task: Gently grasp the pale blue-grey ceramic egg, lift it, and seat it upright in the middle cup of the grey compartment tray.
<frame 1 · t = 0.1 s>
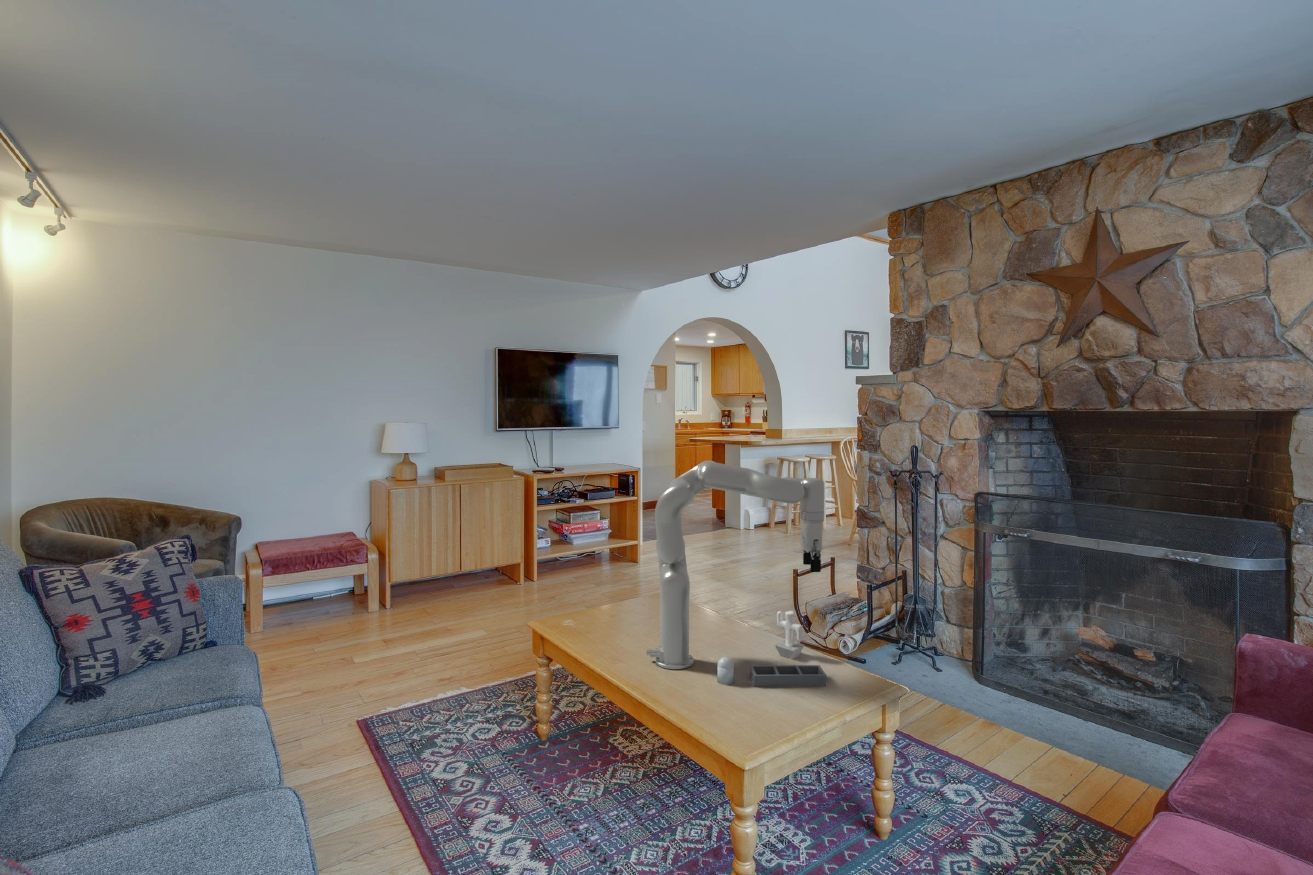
hand: (811, 568, 211), 31 cm above the table, tool pointing down, fingers open, 9 cm apart
grey compartment tray: (787, 680, 197), on the table
figurine: (789, 656, 218), on the table
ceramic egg: (725, 681, 197), on the table
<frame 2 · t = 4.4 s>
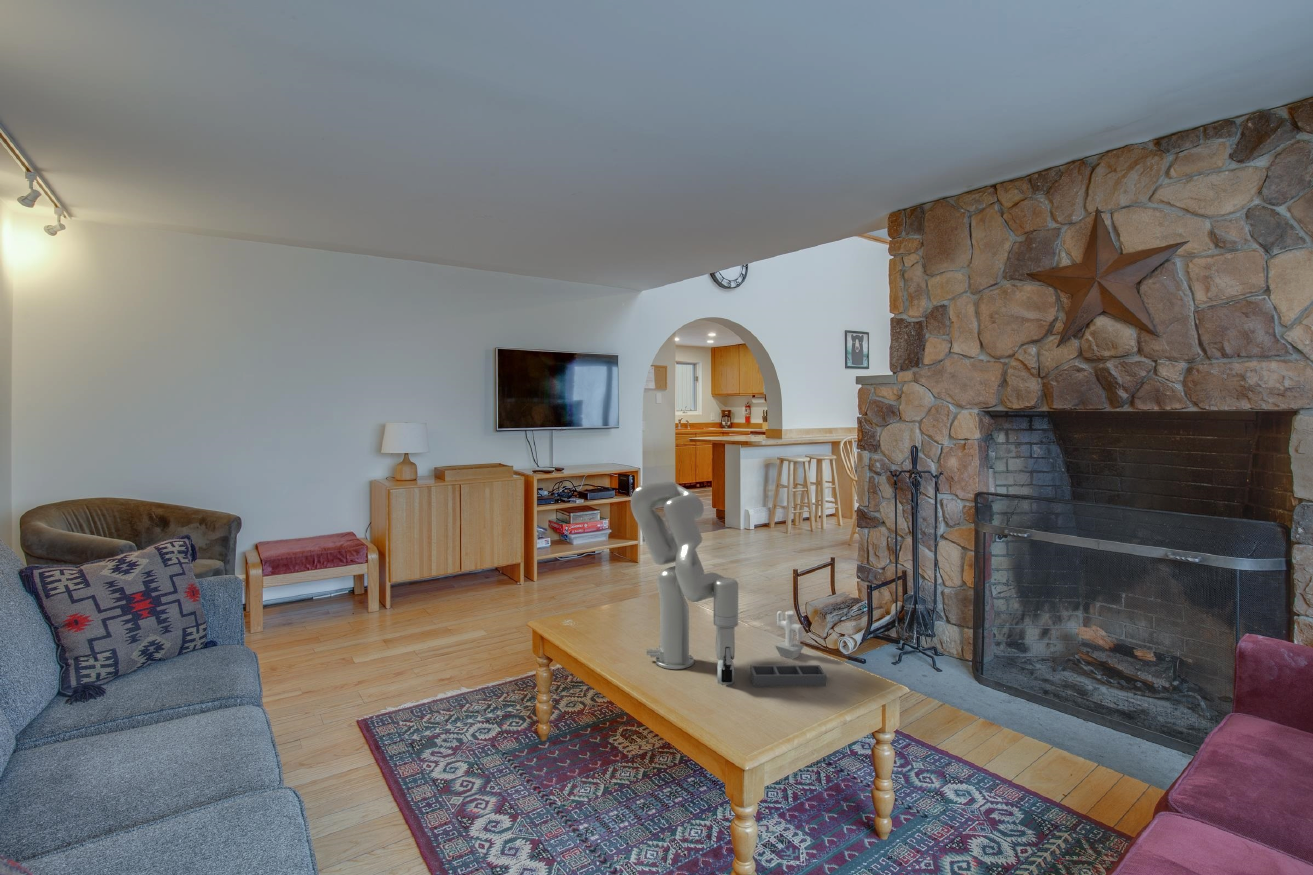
hand: (725, 677, 197), 1 cm above the table, tool pointing down, fingers closed on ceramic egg, 5 cm apart
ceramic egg: (725, 681, 197), on the table, touching gripper
everything else where it was.
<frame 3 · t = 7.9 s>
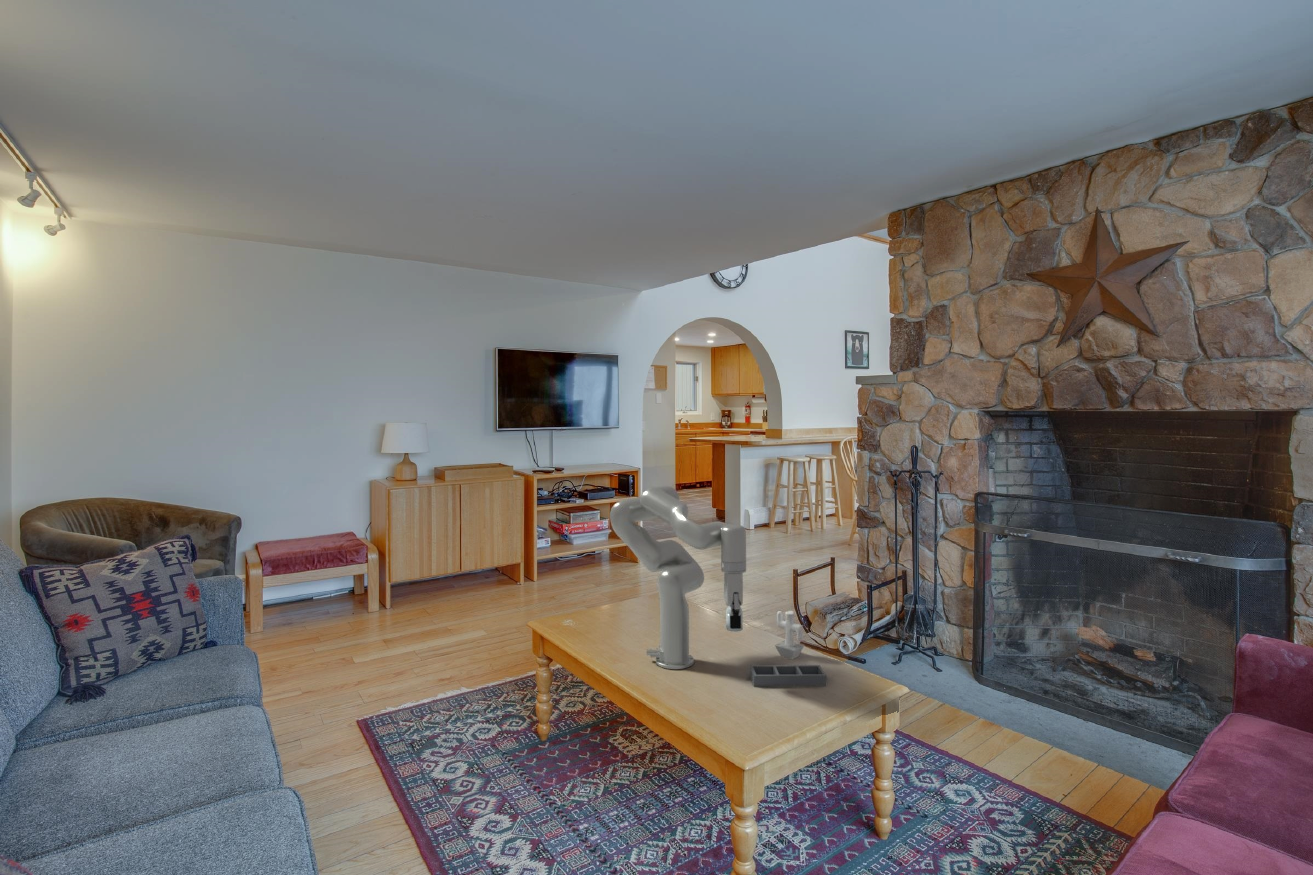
hand: (734, 624, 196), 18 cm above the table, tool pointing down, fingers closed on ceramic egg, 5 cm apart
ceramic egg: (734, 628, 196), point 16 cm above the table, touching gripper
everything else where it was.
when the fingers open (4 cm above the table, at t = 11.9 s): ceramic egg drops 2 cm, resting on grey compartment tray.
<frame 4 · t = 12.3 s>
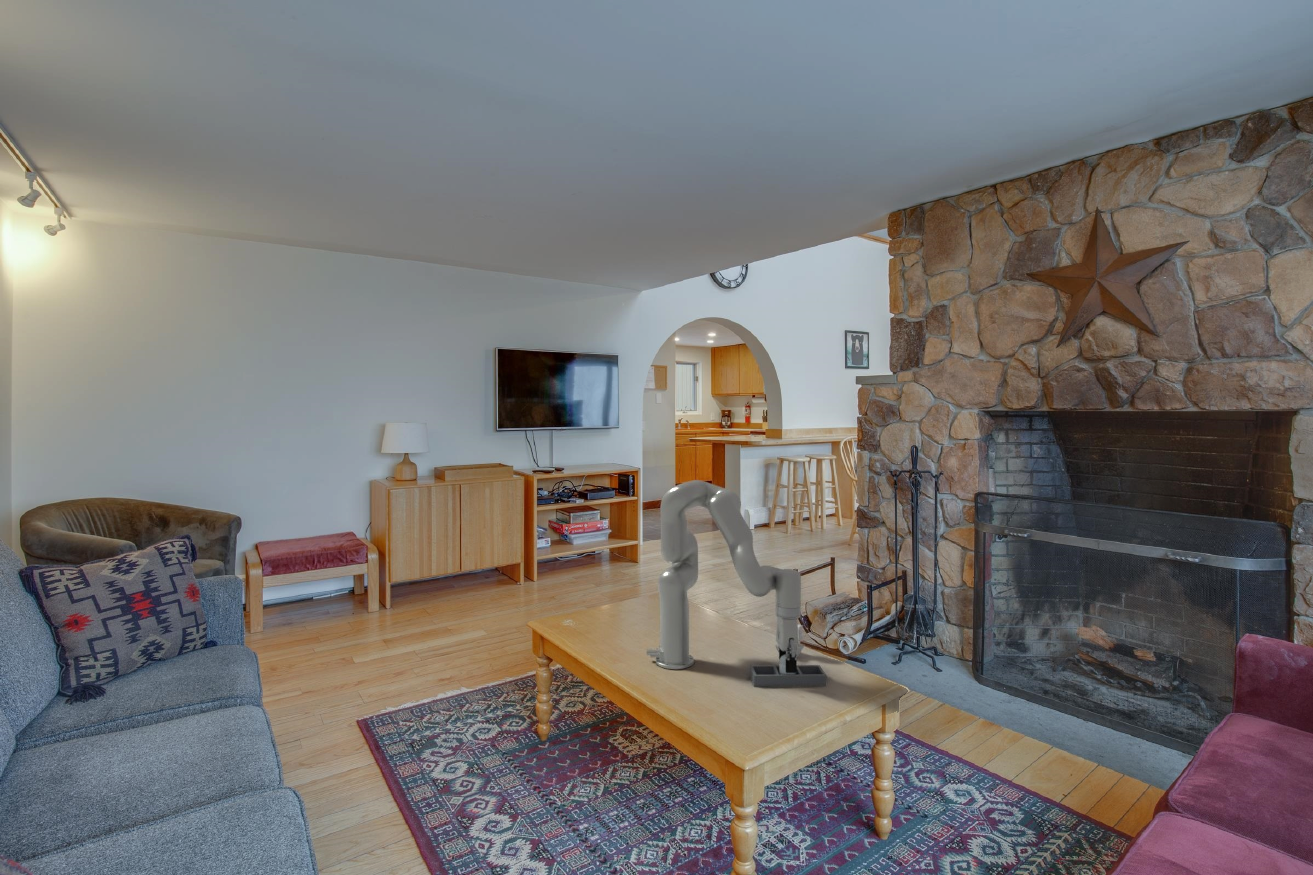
hand: (787, 665, 197), 5 cm above the table, tool pointing down, fingers open, 9 cm apart
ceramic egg: (787, 678, 197), point 1 cm above the table, touching grey compartment tray
everything else where it was.
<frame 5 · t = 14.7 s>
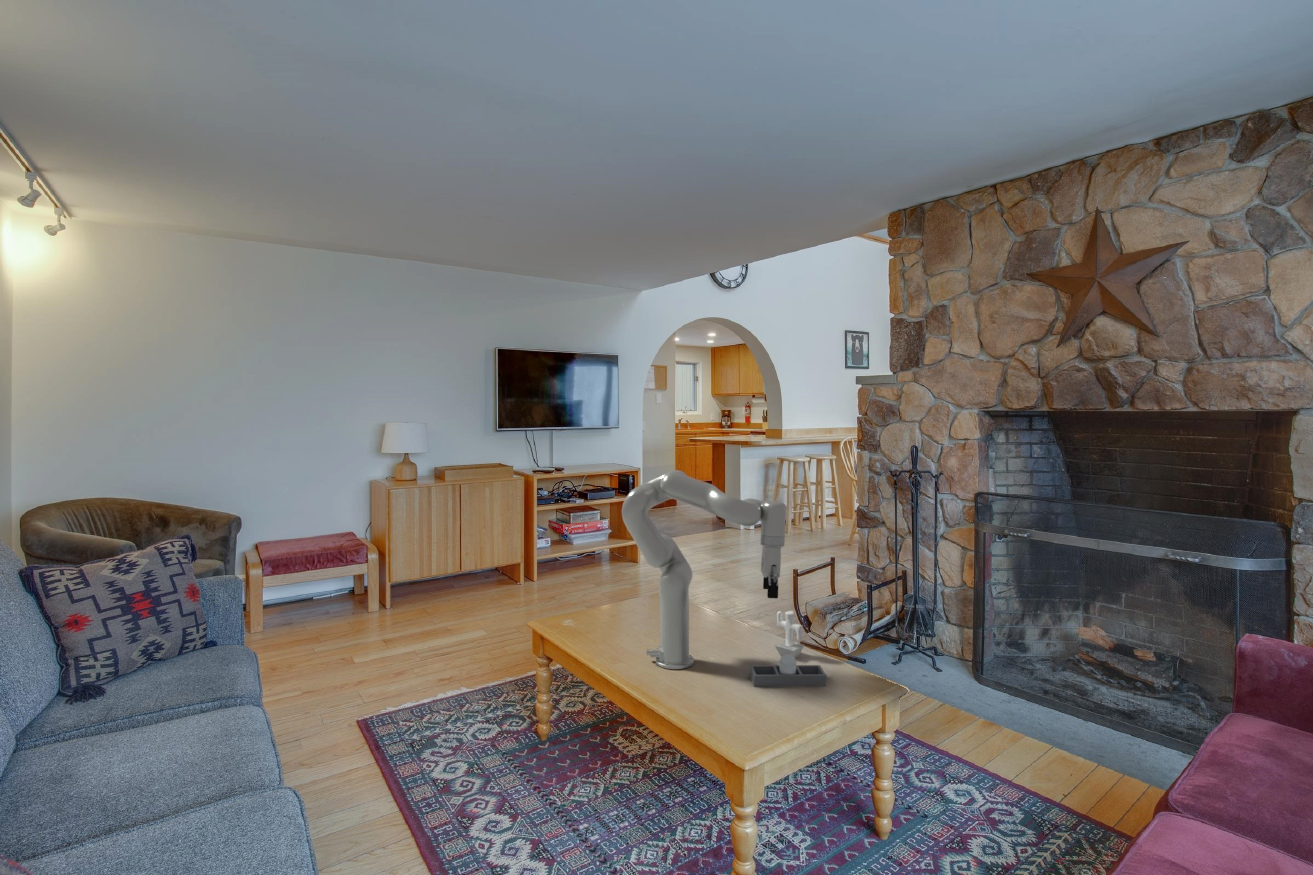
hand: (770, 593, 205), 25 cm above the table, tool pointing down, fingers open, 9 cm apart
nothing on the table moved.
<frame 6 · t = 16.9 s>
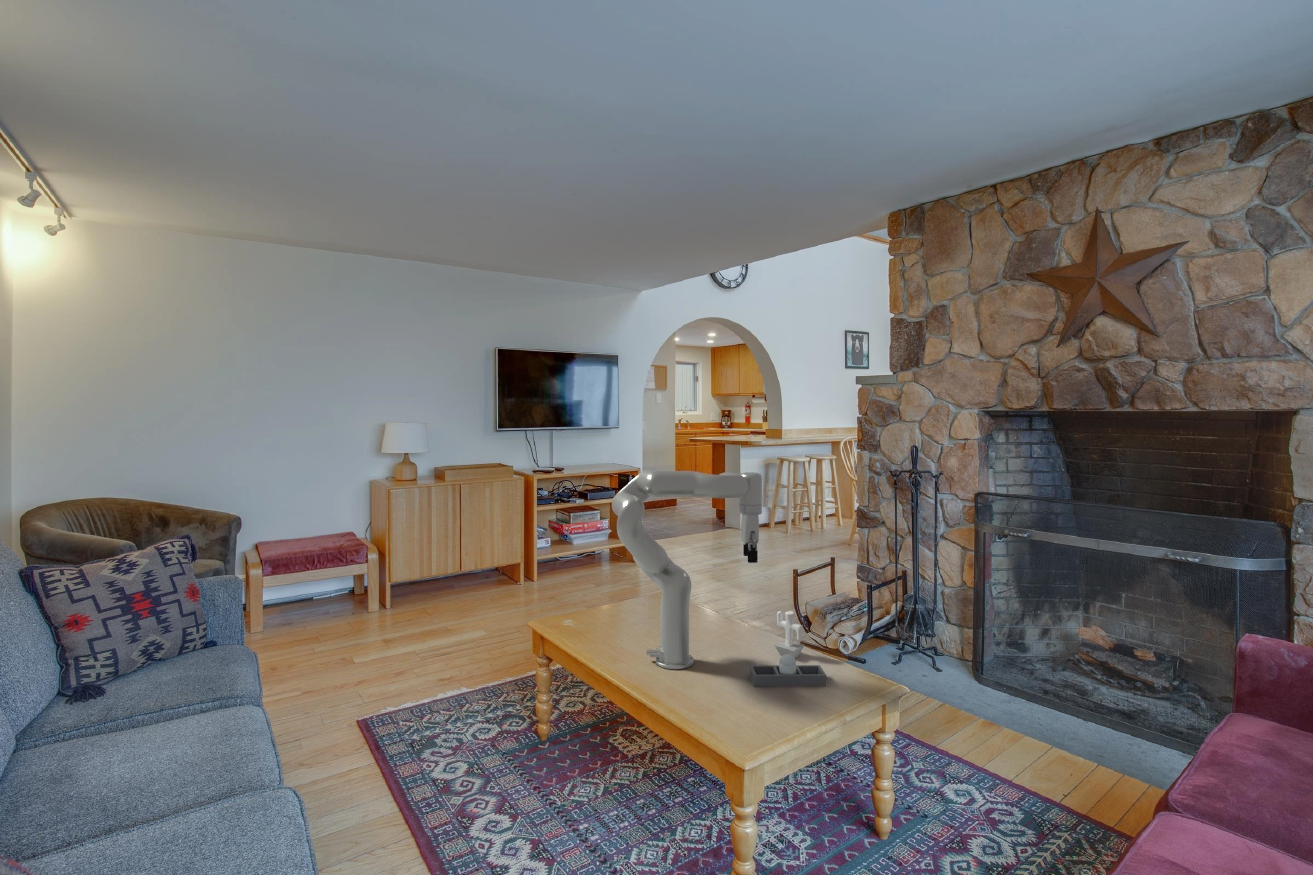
hand: (750, 559, 219), 32 cm above the table, tool pointing down, fingers open, 9 cm apart
nothing on the table moved.
at the end: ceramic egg 0.3 cm off-centre on the grey compartment tray, point 0.8 cm above the grey compartment tray's base; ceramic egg tilted 1°; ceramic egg touching grey compartment tray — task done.
